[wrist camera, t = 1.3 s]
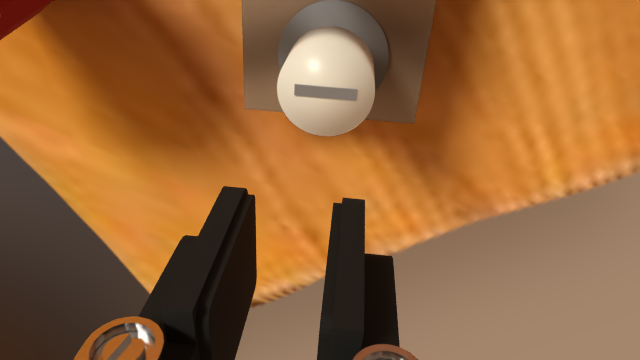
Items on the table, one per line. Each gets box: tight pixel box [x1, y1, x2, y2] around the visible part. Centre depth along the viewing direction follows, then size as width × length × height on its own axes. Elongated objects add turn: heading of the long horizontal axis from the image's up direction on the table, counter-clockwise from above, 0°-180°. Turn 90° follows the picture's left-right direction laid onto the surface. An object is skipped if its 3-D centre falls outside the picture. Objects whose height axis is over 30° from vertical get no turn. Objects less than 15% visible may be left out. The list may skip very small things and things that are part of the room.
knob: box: [277, 26, 375, 136], centre depth 22 cm, size 4×4×3 cm
